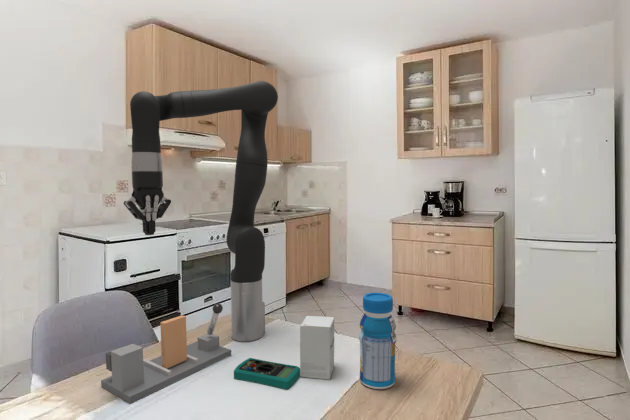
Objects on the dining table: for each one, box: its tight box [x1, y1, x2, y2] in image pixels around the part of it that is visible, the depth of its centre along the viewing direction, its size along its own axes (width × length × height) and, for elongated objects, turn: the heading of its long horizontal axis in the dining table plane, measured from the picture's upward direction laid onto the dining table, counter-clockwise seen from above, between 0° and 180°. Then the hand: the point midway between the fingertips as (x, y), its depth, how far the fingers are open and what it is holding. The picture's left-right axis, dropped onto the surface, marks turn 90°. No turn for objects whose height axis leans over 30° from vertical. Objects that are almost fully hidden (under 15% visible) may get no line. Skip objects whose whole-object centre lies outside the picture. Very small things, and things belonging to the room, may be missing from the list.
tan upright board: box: [159, 314, 188, 369], centre depth 96 cm, size 6×2×11 cm, turn 144°
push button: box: [105, 351, 112, 372], centre depth 89 cm, size 4×2×4 cm, turn 144°
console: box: [100, 333, 232, 405], centre depth 97 cm, size 28×12×10 cm, turn 144°
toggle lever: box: [206, 303, 224, 335], centre depth 104 cm, size 3×3×10 cm
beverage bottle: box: [358, 292, 397, 390], centre depth 90 cm, size 8×8×20 cm
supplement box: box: [299, 315, 335, 381], centre depth 95 cm, size 7×7×13 cm
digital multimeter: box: [233, 357, 300, 390], centre depth 93 cm, size 7×15×3 cm, turn 68°
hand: (149, 234), depth 106 cm, fingers closed
